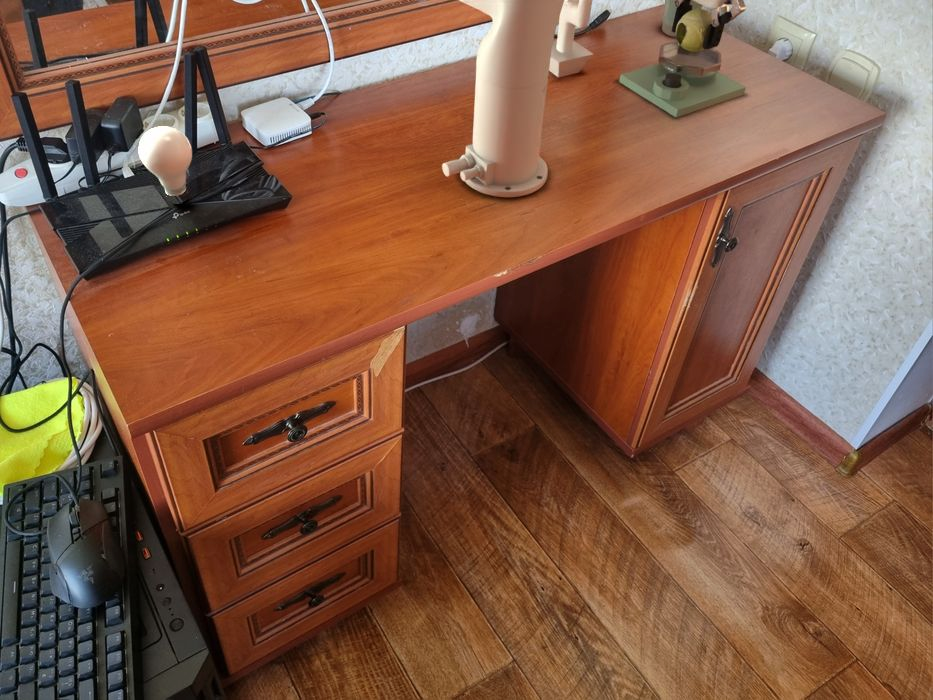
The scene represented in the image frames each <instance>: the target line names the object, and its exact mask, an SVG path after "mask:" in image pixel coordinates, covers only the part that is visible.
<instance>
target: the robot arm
mask: <svg viewBox="0 0 933 700" xmlns="http://www.w3.org/2000/svg"><path fill="white" fill-rule="evenodd" d="M458 1H459V2H461V3H463V4H465V5H468V6H470V7H472V8H474V9H475V10H479V11H480V12H481V13H483V14H486V15H487V16H489V17H490V18H491V20H492V24H491V27H490V28H489V30H488V32H486V35H484V37H483V38H482V39H481V41H480V43H479V45H478V49H477V54H476V64H475V86H474V108H473V125H472V126H473V127H472V144H468V145H466V146H465V154H462V155H461V156H460V158H458V159H452V160H449V161H446V162H443V163H442V164H441V170H442V172H443V174H444V175H445V177H451V176H454V175H457V174H459V177H460V179H461V181H462V182H465V183H466V185H468V186H469V187H470V188H471V189H473V190H476V191H477V192H479V193H481V194H484V195H488V196H492V197H498V198H515V197H516V198H518V197H522V196H523V197H524V196H528V195H530V194H532V193H534V192H535V193H536V191H539V189H541V188H542V187H543V186H544V185H545V183H546V182H547V180H548V174H549V173H548V171H549V169H548V165H547V163H546V162H545V161H546V160H544V159H543V158H542V156H540V149H541V140H542V133H543V125H544V115H545V108H546V99H547V92H548V83H549V76H550V75H549V74H550V71H549V66H550V58H551V51H552V45H553V41H554V39H555V35H556V29H557V27H558V26H557V23H558V19H559V16H560V13H561V10H562V7H563V4H564V1H565V0H458ZM692 1H695V2H697V3H699V4H701V5H702V7H705V8H707V9H709V10H710V13H711V15H712V24H710V25H708V28H707V32H706V35H705V39H704V43H703V48H704V49H705V50H707V49H711V48H713V49H714V48H717V47H718V46H719V45H720V42H721V39H722V35H723V32H724V28H725V25H726V24H729V23H730V22H731V21H733V20H734V19H736V18H737V17H738V16H739V15H741V14H742V13H744V12H745V11H746V9H747V7H746V4H745V1H744V0H675V2H674V5H675V7H677V9H676V13H675V17H674V22H673V26H672V32H674V33H676V27H677V24H678V22H679V20H680V19H681V18H682V17H683V15H685V14H686V13H687V12H689V11H691V10H692V5H690V3H691V2H692ZM730 6H731V9H730ZM681 24H682V22H681Z"/></svg>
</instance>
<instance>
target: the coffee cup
mask: <svg viewBox="0 0 933 700" xmlns="http://www.w3.org/2000/svg"><path fill="white" fill-rule="evenodd" d="M674 2H675V0H664V6H663V15H662V16H663V17H662V27H661V30H662V32H663V33H665V35H667V36H670V37H673V38H676V33H674V32H672V26H673V22H674V17H675V13H676V9H677V7H675V5H674ZM690 5H692V10H693V9H698V8H699V9H703V5H701V4H699V3H697V2H695V1H692V2H691V3H690Z"/></svg>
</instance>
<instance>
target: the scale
mask: <svg viewBox="0 0 933 700" xmlns="http://www.w3.org/2000/svg"><path fill="white" fill-rule="evenodd" d="M668 73H670V72H668V71H666V70H665V69H664V68H662V67H661V66H660V64H659V62H657V63H655V64H651V65H648V66H645V67H641V68H638V69H634V70H631V71H627V72H625V73H621V74H620V76H619V80H618V82H619V83H620V84H621V85H623V86H625V87H626V88H628V89H630V90H631V91H633V92H634V93H636V94H637V95H639V96H641V97H642V98H644V99H645V100H646V101H649V102H650V103H652V104H653V105H655V106H657V107H658V108H660V109H661V110H663V111H664V112H666V113H668V114H669V115H671V116H673V117H674V118H679V117H682V116H685V115H688V114H691V113H693V112H697V111H699V110H702V109H706V108H708V107H712V106H715V105H717V104H721V103H723V102H726V101H729V100H731V99H735V98H738V97H740V96H744V95H745V92H746V88H747V86H745V85H743V84H741V83H740V82H738V81H736V80H734V79H732V78H730V77H729V76H727V75H725V74H723V73H722V72H720V71H719V70H718V71H717V72H716V73H715V74H714V75H712V76H709V77H704V78H689V77H683V76H681V82H680V86H679V87H678V88H670V87H666V86H665V85H664V80H665V76H666V74H668Z"/></svg>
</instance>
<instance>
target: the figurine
mask: <svg viewBox="0 0 933 700" xmlns="http://www.w3.org/2000/svg"><path fill="white" fill-rule="evenodd" d="M592 5H593V0H565V1H564V4H563V7H562V10H561V13H560V16H559V19H558V23H557V26H556V27H558V29H557V30H558V31H557V37H556V38H557V39H556V40H553V45H552V51H551V58H550V66H549V73H552V74H553V75H554V76H556V77H557V78H562V77H566V76H570V75H575V74H579V73H580V72H581V70H582V69H583V68H584V66H585V65H586V64H587V63H588V62H589V60H590V59H591V58H592V56H593V55H594V53H593V52H591V51H589V49H586V48H585V46H583V45H581V44H580V43H578V42H577V41H575V40H574V39H575V32H576V28H578V29H585V28H586V27H587V26H588V24H589V22H590V18H591V13H592Z"/></svg>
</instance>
